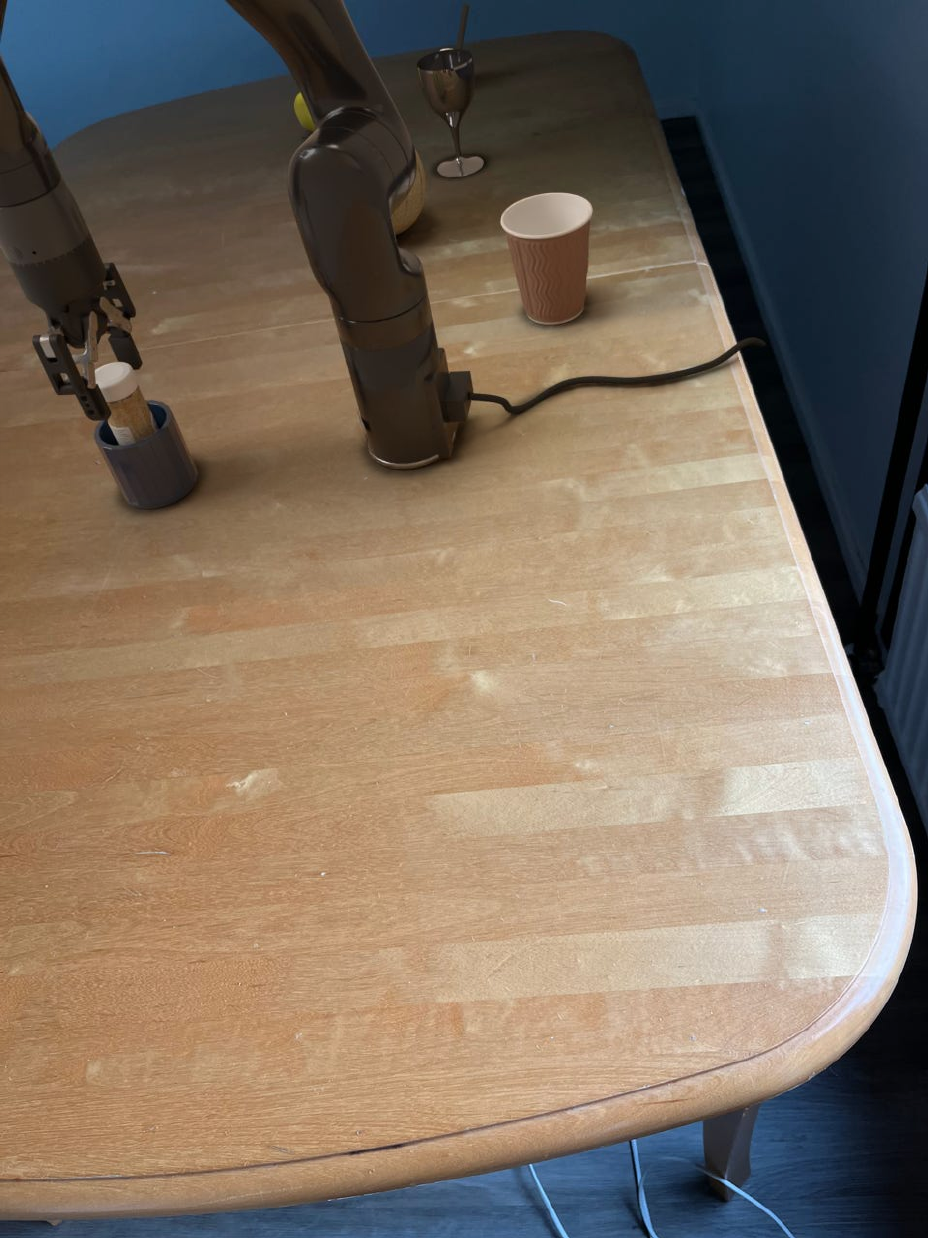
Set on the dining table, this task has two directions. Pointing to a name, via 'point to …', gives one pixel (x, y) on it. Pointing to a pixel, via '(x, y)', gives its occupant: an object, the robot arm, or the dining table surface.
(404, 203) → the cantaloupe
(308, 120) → the apple
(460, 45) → the dark thin bar
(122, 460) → the holder cup
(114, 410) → the sprinkles bottle
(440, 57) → the wine glass
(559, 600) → the dining table surface
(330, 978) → the dining table surface
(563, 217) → the coffee cup
